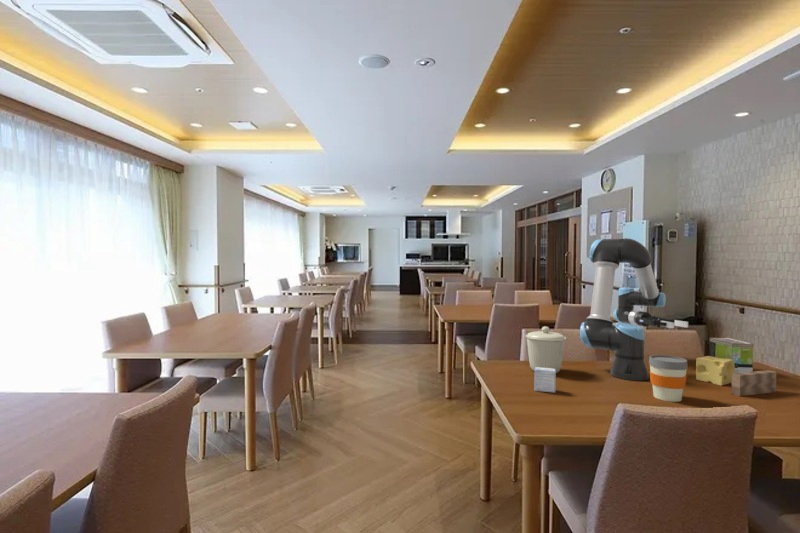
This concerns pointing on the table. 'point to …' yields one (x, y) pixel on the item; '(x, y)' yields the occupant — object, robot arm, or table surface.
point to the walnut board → (753, 383)
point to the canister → (545, 349)
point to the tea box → (733, 352)
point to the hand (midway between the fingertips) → (680, 325)
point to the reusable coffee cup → (668, 377)
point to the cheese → (714, 370)
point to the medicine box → (545, 379)
